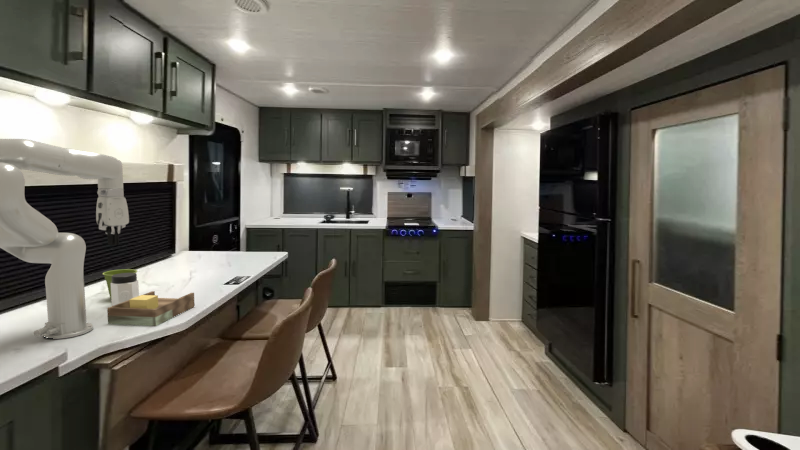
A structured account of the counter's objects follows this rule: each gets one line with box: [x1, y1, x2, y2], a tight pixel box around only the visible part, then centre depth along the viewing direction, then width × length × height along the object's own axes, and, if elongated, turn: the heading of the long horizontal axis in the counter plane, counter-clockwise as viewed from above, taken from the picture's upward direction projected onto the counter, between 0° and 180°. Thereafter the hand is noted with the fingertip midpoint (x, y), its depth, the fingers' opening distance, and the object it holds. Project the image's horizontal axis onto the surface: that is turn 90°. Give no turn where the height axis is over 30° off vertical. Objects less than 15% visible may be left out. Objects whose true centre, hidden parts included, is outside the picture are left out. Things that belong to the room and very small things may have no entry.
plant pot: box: [102, 268, 138, 300], centre depth 174 cm, size 12×12×11 cm
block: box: [129, 294, 159, 309], centre depth 148 cm, size 6×6×5 cm
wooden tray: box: [106, 290, 195, 327], centre depth 154 cm, size 22×17×6 cm
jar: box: [110, 272, 140, 306], centre depth 165 cm, size 9×8×12 cm
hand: (113, 244), depth 156 cm, fingers closed
